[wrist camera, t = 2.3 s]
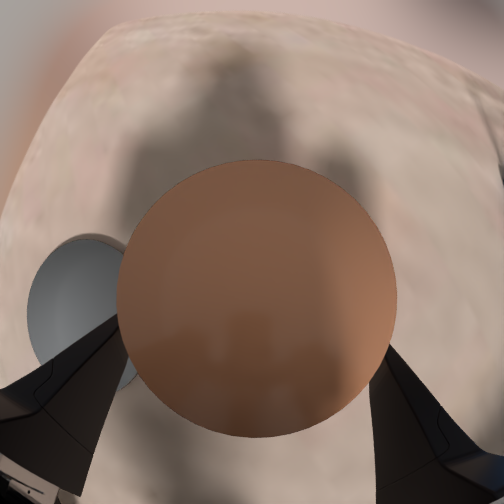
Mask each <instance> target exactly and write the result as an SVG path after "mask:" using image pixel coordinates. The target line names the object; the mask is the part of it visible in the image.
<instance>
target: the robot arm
mask: <svg viewBox="0 0 504 504" xmlns="http://www.w3.org/2000/svg"><path fill="white" fill-rule="evenodd" d="M128 357H129V355H128V353H127V350H126V348H125V345H124V343H123V340H122V336H121V332H120V328H119V323H118V315H117V313H116V314H115V315H113V316H112V317H110V318H109V319H108V320H106V321H105V322H103V323H102V324H100V325H99V326H97V327H96V328H95V329H93V330H92V331H90V332H89V333H87V334H86V335H84V336H83V337H82V338H80V339H79V340H77V341H76V342H74V343H73V344H72V345H70V346H69V347H67V348H66V349H64V350H63V351H62V352H60V353H59V354H57V355H56V356H55V357H54V358H52V359H50V360H49V361H47V362H46V363H45V364H43V365H42V366H40V367H39V368H37V369H36V370H34V371H32V372H31V373H29V374H28V375H26V376H24V377H22V378H21V379H19V380H17V381H15V382H14V383H12V384H10V385H9V386H7V387H5V388H2V389H0V504H61V503H60V501H59V499H58V496H57V494H58V491H59V488H61V489H63V490H65V491H68V492H70V493H72V494H74V495H77V496H79V497H81V495H82V491H83V488H84V484H85V481H86V477H87V474H88V471H89V468H90V464H91V461H92V458H93V454H94V452H95V448H96V445H97V442H98V440H99V437H100V434H101V431H102V428H103V425H104V422H105V420H106V417H107V414H108V411H109V409H110V406H111V403H112V401H113V398H114V395H115V393H116V390H117V388H118V385H119V383H120V380H121V377H122V375H123V373H124V370H125V367H126V364H127V361H128ZM369 397H370V407H371V417H372V427H373V439H374V454H375V474H376V504H504V456H499V455H495V454H491V453H487V452H485V451H483V450H482V449H480V448H479V447H478V446H477V445H476V444H475V443H474V442H473V441H472V440H471V439H470V438H469V436H468V435H467V434H466V433H465V432H464V431H463V430H462V429H461V428H460V427H459V426H458V425H457V424H456V423H455V422H454V420H453V419H452V418H451V417H450V416H449V414H448V413H447V412H446V411H445V410H444V408H443V407H442V406H440V403H439V402H438V401H437V400H436V398H435V397H434V396H433V395H432V394H431V392H430V391H429V390H428V389H427V387H426V386H425V385H424V384H423V383H422V381H421V380H420V379H419V378H418V377H417V375H416V374H415V373H414V372H413V371H412V369H411V368H410V367H409V366H408V365H407V363H406V362H405V361H404V360H403V359H402V358H401V356H400V355H399V354H398V353H397V352H396V351H395V349H394V348H393V347H392V346H391V345H390V344H389V346H388V349H387V351H386V353H385V356H384V358H383V360H382V362H381V364H380V366H379V368H378V369H377V371H376V372H375V374H374V375H373V377H372V378H371V380H370V381H369Z"/></svg>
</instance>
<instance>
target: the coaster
mask: <svg viewBox="0 0 504 504" xmlns="http://www.w3.org/2000/svg"><path fill="white" fill-rule="evenodd" d="M123 256H124V255H123V254H122V253H121V252H119V251H118V250H116V249H115V248H113V247H111V246H109V245H107V244H105V243H103V242H99V241H96V240H88V239H85V240H77V241H72V242H70V243H67V244H65V245H63V246H61V247H60V248H58V249H57V250H55V251H54V252H53V253H52V254H51V255H50V256H49V257H48V258H47V259H46V260H45V261H44V263H43V264H42V265H41V267H40V268H39V270H38V272H37V274H36V276H35V278H34V280H33V283H32V286H31V289H30V293H29V298H28V305H27V324H28V331H29V337H30V340H31V344H32V347H33V350H34V352H35V355H36V357H37V359H38V361H39V362H40V364H41V366H42V365H43V364H45V363H46V362H47V361H49V360H50V359H52V358H54V357H55V356H56V355H57V354H59V353H60V352H62V351H63V350H64V349H66V348H67V347H69V346H70V345H72V344H73V343H74V342H76V341H77V340H79V339H80V338H82V337H83V336H84V335H86V334H87V333H89V332H90V331H92V330H93V329H95V328H96V327H97V326H99V325H100V324H102V323H103V322H105V321H106V320H108V319H109V318H110V317H112V316H113V315H115V314H116V313H117V306H116V298H117V282H118V276H119V270H120V266H121V262H122V259H123ZM137 373H138V372H137V371H136V369H135V367H134V365H133V363H132V362H131V360H130V358H129V357H128V361H127V364H126V367H125V370H124V373H123V375H122V377H121V380H120V383H119V385H118V388H117V390H116V391H118V390H120V389H122V388H123V387H125V386H126V385H127V384H129V383H130V382H131V381H132V380H133V379H134V377H135V376H136V375H137Z"/></svg>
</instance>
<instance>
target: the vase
mask: <svg viewBox="0 0 504 504" xmlns="http://www.w3.org/2000/svg"><path fill="white" fill-rule="evenodd" d="M116 306H117V315H118V323H119V328H120V332H121V336H122V340H123V343H124V345H125V348H126V350H127V353H128V355H129V358H130V360H131V362H132V363H133V365H134V367H135V369H136V371H137V372H138V374H139V375H140V377H141V378H142V379H143V381H144V382H145V383H146V385H147V386H148V387H149V389H150V390H151V391H152V392H153V393H154V394H155V395H156V396H157V397H158V398H159V399H160V400H161V401H162V402H163V403H164V404H166V405H167V406H168V407H169V408H171V409H172V410H173V411H175V412H176V413H177V414H179V415H180V416H182V417H184V418H186V419H187V420H189V421H191V422H193V423H194V424H197V425H199V426H202V427H204V428H207V429H209V430H212V431H215V432H219V433H223V434H227V435H231V436H239V437H249V438H262V437H275V436H281V435H286V434H291V433H294V432H298V431H301V430H304V429H307V428H310V427H312V426H314V425H316V424H318V423H320V422H322V421H324V420H326V419H328V418H329V417H331V416H332V415H334V414H335V413H337V412H338V411H340V410H341V409H343V408H344V407H345V406H346V405H347V404H349V403H350V402H351V401H352V400H353V399H354V398H355V397H356V396H357V395H358V394H359V393H360V392H361V391H362V390H363V389H364V387H365V386H366V385H367V384H368V383H369V381H370V380H371V378H372V377H373V375H374V374H375V372H376V371H377V369H378V368H379V366H380V364H381V362H382V360H383V358H384V356H385V353H386V351H387V349H388V346H389V343H390V340H391V337H392V333H393V330H394V324H395V318H396V310H397V288H396V278H395V273H394V268H393V264H392V260H391V257H390V254H389V251H388V249H387V246H386V243H385V241H384V239H383V237H382V235H381V233H380V232H379V230H378V228H377V226H376V225H375V223H374V222H373V220H372V219H371V218H370V216H369V215H368V213H367V212H366V211H365V210H364V209H363V208H362V206H361V205H360V204H359V203H358V202H357V201H356V200H355V199H354V198H353V197H352V196H351V195H349V194H348V193H347V192H346V191H345V190H343V189H342V188H341V187H340V186H338V185H336V184H335V183H333V182H332V181H330V180H329V179H327V178H325V177H323V176H321V175H319V174H317V173H315V172H313V171H311V170H308V169H305V168H302V167H299V166H297V165H293V164H288V163H284V162H279V161H269V160H243V161H236V162H230V163H225V164H221V165H218V166H214V167H211V168H208V169H206V170H203V171H201V172H199V173H196V174H194V175H192V176H190V177H189V178H187V179H185V180H184V181H182V182H180V183H178V184H177V185H176V186H174V187H173V188H172V189H170V190H169V191H168V192H167V193H165V194H164V195H163V196H162V197H161V198H160V199H159V200H158V201H157V202H156V203H155V204H154V205H153V206H152V207H151V208H150V209H149V211H148V212H147V213H146V214H145V216H144V217H143V218H142V220H141V221H140V223H139V224H138V226H137V228H136V229H135V231H134V233H133V234H132V236H131V238H130V241H129V243H128V245H127V247H126V250H125V252H124V256H123V259H122V262H121V266H120V270H119V276H118V282H117V298H116Z"/></svg>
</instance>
